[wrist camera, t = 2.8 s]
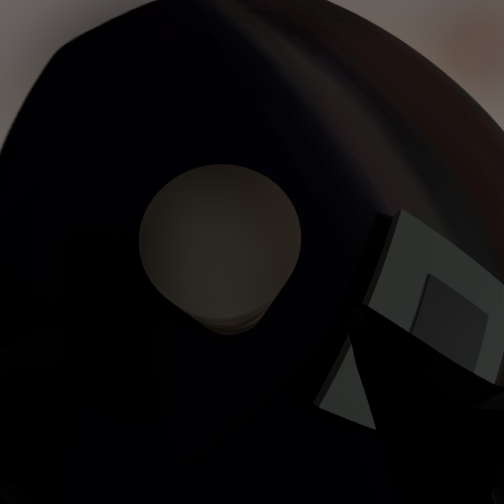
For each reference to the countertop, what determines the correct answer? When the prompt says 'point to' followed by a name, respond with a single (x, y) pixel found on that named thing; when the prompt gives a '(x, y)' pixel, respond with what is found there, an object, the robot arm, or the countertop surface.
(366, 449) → the countertop surface
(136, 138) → the countertop surface
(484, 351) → the sage board
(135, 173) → the countertop surface
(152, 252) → the ash sleeve
